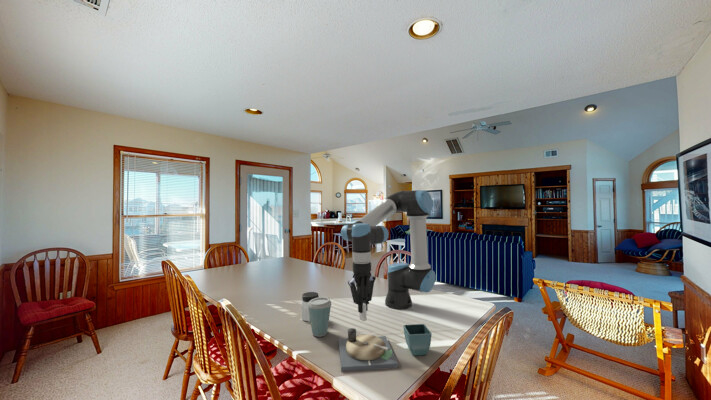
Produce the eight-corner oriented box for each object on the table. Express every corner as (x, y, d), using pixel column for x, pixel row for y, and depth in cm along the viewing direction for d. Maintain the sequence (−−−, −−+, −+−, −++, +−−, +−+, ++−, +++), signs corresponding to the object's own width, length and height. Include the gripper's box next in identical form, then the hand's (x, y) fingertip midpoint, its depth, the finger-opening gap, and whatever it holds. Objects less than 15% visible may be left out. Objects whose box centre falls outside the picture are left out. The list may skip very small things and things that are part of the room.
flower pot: (403, 346, 110) (402, 324, 111) (424, 345, 111) (424, 323, 111) (409, 359, 102) (409, 334, 102) (432, 357, 102) (432, 333, 103)
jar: (305, 323, 133) (305, 298, 133) (299, 317, 140) (298, 293, 140) (322, 318, 138) (322, 294, 138) (315, 313, 145) (315, 290, 145)
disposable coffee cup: (311, 341, 115) (310, 305, 115) (305, 330, 125) (304, 297, 125) (334, 336, 119) (334, 301, 120) (327, 326, 129) (327, 294, 130)
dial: (394, 346, 108) (394, 330, 108) (379, 365, 94) (379, 348, 95) (357, 336, 116) (357, 322, 116) (338, 353, 102) (338, 337, 103)
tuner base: (385, 339, 116) (385, 335, 116) (398, 367, 96) (398, 362, 96) (338, 342, 114) (338, 338, 114) (341, 371, 94) (341, 366, 94)
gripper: (368, 257, 118) (369, 312, 118) (343, 262, 111) (344, 321, 111) (380, 260, 112) (381, 318, 112) (354, 266, 104) (355, 327, 105)
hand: (363, 319), depth 112 cm, fingers closed
